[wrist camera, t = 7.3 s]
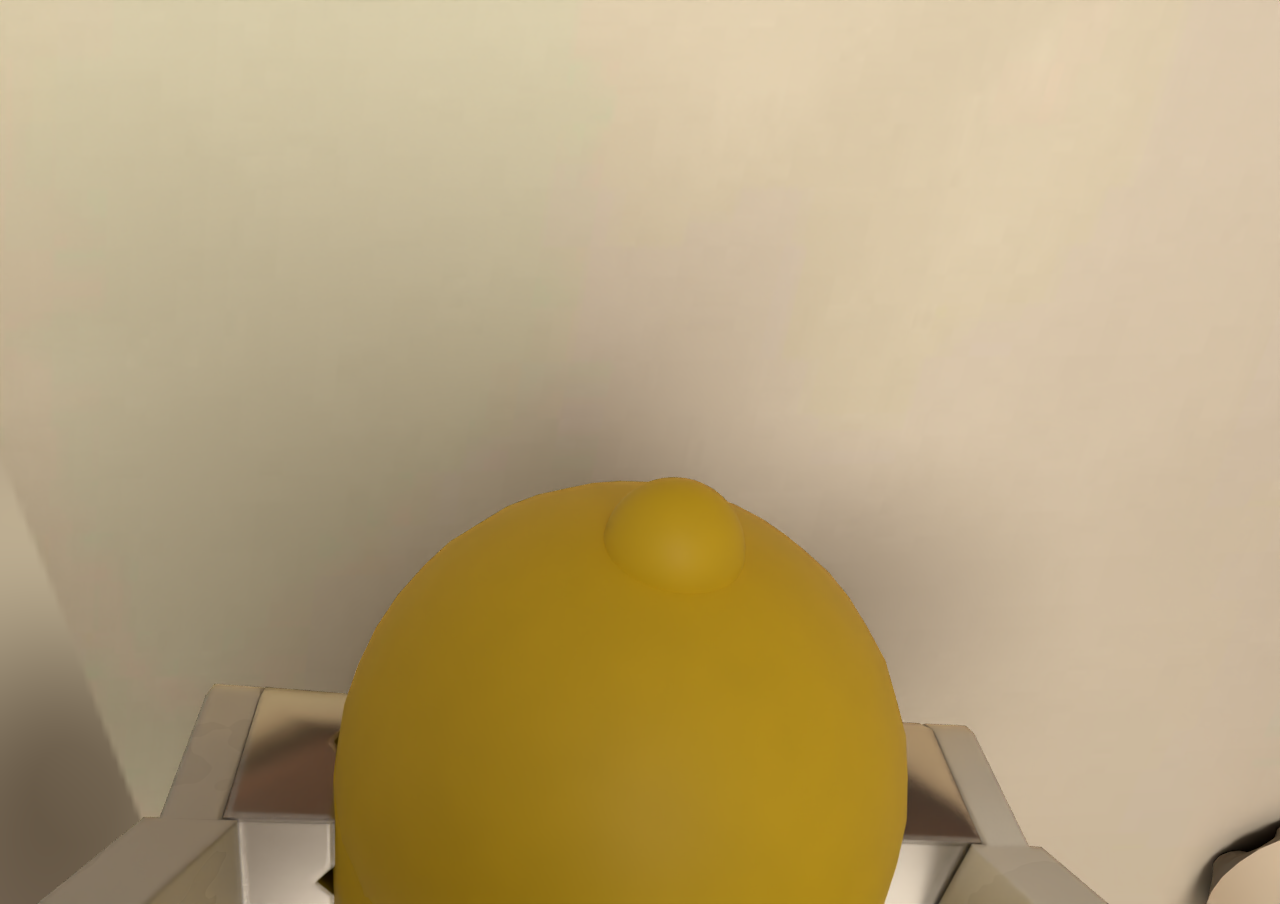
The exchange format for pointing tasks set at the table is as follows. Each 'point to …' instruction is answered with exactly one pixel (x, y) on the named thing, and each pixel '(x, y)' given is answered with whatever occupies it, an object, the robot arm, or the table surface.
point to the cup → (1247, 876)
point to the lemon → (620, 717)
